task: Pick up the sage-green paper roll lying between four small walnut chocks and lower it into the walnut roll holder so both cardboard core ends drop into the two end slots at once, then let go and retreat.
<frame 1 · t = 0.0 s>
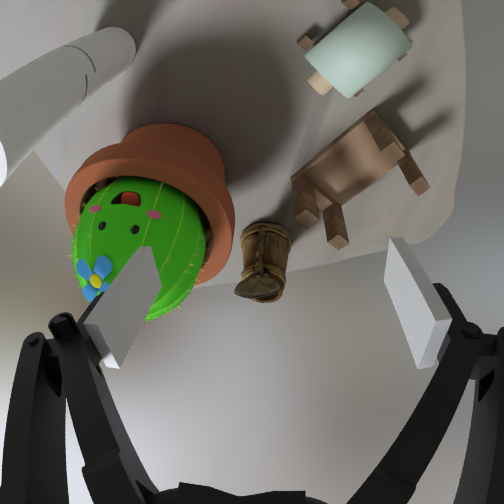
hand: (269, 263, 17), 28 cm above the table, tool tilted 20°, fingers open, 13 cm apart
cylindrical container: (111, 51, 31), on the table
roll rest: (351, 44, 29), on the table
paper roll: (351, 44, 30), on the table
wooden mug: (265, 230, 54), on the table
potted cactus: (170, 170, 46), on the table
roll holder: (350, 162, 42), on the table
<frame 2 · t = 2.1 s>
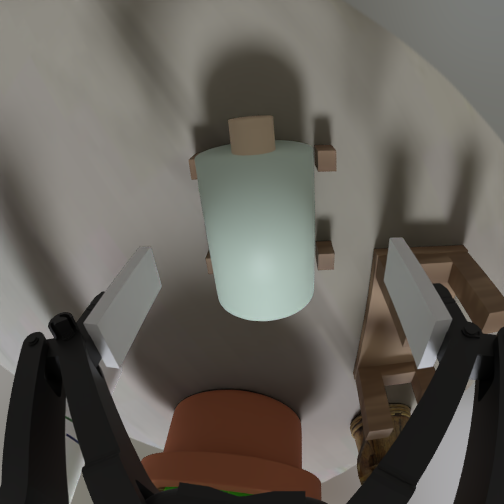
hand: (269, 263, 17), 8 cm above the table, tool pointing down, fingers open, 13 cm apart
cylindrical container: (98, 359, 35), on the table
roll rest: (267, 206, 23), on the table
paper roll: (267, 206, 23), on the table, tilted 6°
wooden mug: (372, 414, 37), on the table
potted cactus: (237, 420, 39), on the table
roll holder: (405, 317, 28), on the table
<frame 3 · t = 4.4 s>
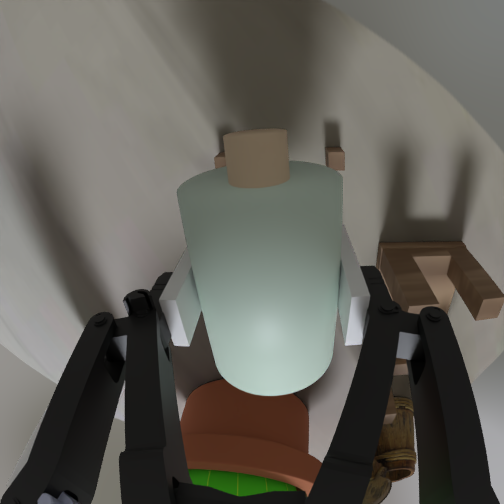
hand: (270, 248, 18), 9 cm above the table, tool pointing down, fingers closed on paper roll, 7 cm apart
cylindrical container: (115, 347, 38), on the table
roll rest: (283, 201, 26), on the table
paper roll: (268, 244, 19), point 8 cm above the table, touching gripper
wooden mug: (376, 407, 39), on the table
potted cactus: (247, 410, 42), on the table
roll holder: (408, 309, 30), on the table
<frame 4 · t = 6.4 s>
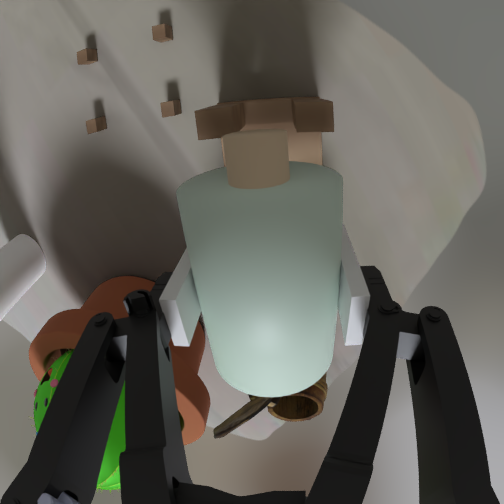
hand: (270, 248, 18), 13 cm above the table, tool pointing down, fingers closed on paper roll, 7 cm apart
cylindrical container: (29, 254, 38), on the table
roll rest: (130, 79, 25), on the table
paper roll: (268, 245, 18), point 13 cm above the table, touching gripper
wooden mug: (282, 327, 39), on the table
potted cactus: (145, 325, 41), on the table
roll holder: (274, 180, 30), on the table
when the fingers open (2 cm above the table, at t = 8.6 s): paper roll stays where it is, resting on roll holder.
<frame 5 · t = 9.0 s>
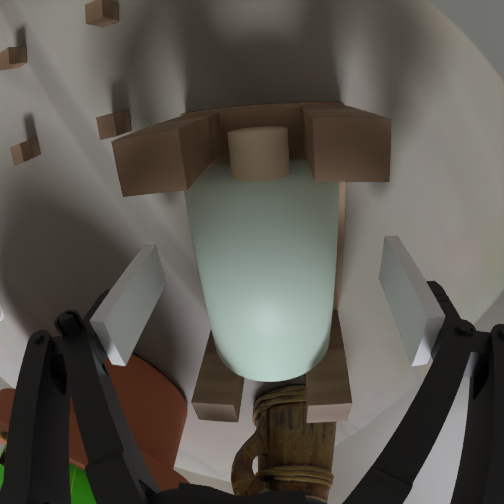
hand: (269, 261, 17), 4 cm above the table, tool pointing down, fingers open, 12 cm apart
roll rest: (64, 84, 16), on the table
paper roll: (268, 237, 19), point 1 cm above the table, touching roll holder
wooden mug: (281, 398, 30), on the table
potted cactus: (117, 385, 32), on the table
roll holder: (271, 230, 20), on the table
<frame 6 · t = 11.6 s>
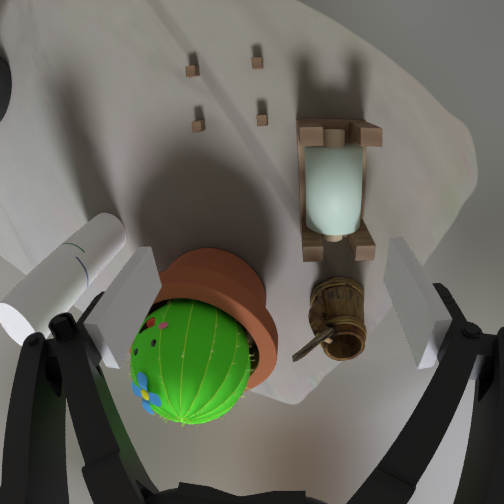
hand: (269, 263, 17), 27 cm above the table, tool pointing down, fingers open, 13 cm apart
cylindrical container: (109, 231, 49), on the table
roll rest: (228, 94, 37), on the table
paper roll: (331, 178, 40), point 1 cm above the table, touching roll holder
wooden mug: (328, 290, 50), on the table
potted cactus: (214, 291, 53), on the table
roll holder: (331, 176, 41), on the table
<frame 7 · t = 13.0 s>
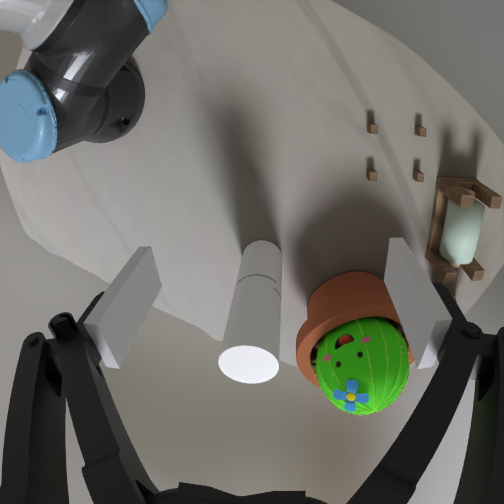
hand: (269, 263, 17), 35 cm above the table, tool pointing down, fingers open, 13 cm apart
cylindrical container: (262, 257, 57), on the table
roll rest: (394, 151, 45), on the table
paper roll: (453, 220, 48), point 1 cm above the table, touching roll holder
potted cactus: (349, 305, 61), on the table
roll holder: (451, 218, 49), on the table
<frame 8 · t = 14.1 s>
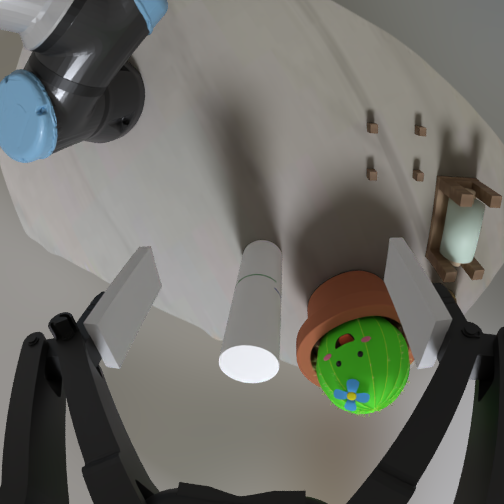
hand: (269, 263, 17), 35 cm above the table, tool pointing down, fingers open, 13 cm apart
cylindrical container: (262, 257, 57), on the table
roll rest: (394, 151, 45), on the table
paper roll: (453, 220, 48), point 1 cm above the table, touching roll holder
potted cactus: (350, 305, 61), on the table
roll holder: (451, 218, 49), on the table
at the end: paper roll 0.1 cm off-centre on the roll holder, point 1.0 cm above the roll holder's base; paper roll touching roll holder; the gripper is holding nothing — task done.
